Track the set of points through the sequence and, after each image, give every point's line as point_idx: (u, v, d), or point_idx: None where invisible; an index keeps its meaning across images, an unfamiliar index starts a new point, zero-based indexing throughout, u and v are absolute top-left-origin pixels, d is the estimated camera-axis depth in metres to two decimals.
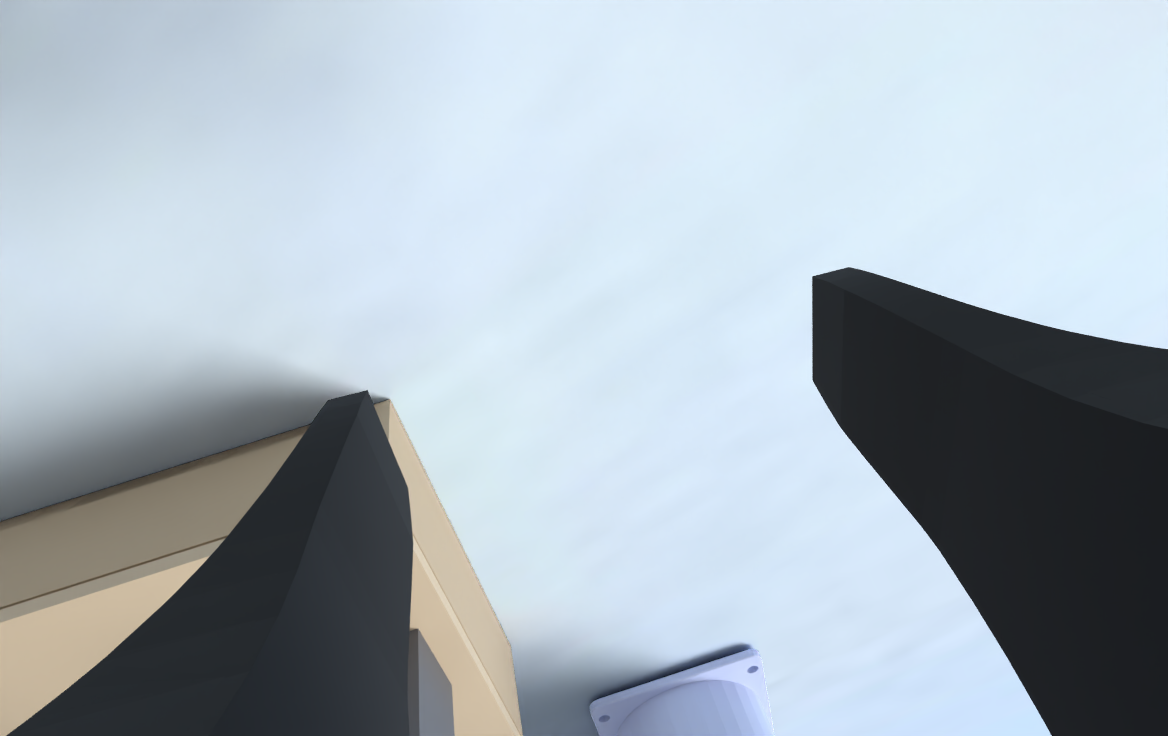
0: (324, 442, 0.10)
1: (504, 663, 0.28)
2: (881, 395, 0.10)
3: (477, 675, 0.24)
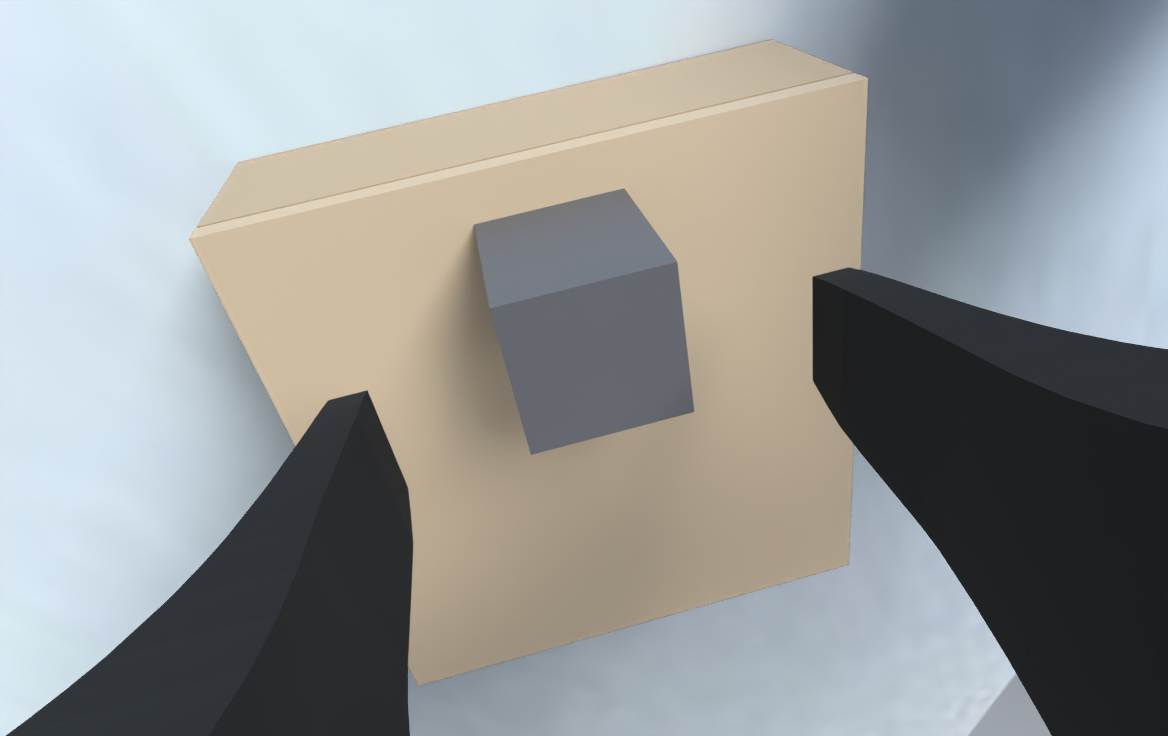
0: (324, 442, 0.10)
1: (740, 68, 0.16)
2: (881, 395, 0.10)
3: (614, 145, 0.14)
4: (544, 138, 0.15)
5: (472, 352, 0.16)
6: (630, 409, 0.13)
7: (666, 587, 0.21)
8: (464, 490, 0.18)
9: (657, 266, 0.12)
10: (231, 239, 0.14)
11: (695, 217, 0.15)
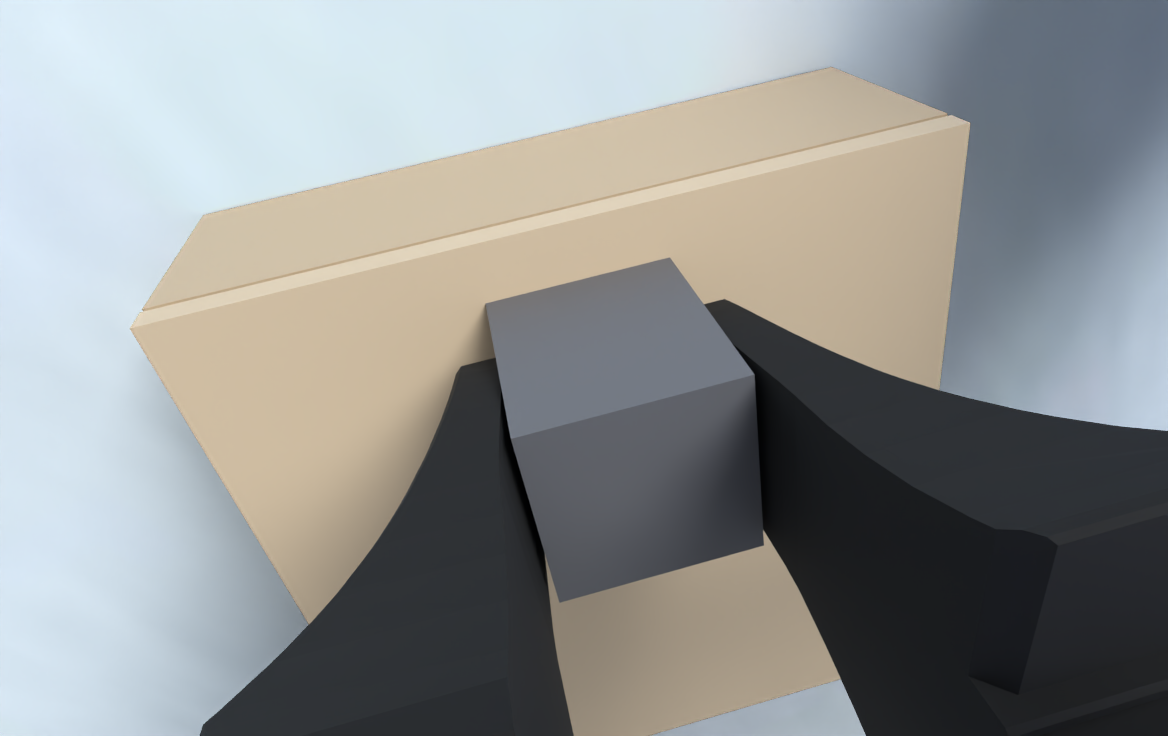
0: (478, 402, 0.10)
1: (801, 104, 0.14)
2: None
3: (659, 207, 0.11)
4: (571, 195, 0.12)
5: None
6: (685, 546, 0.10)
7: (701, 690, 0.18)
8: None
9: (728, 380, 0.09)
10: (183, 327, 0.11)
11: (754, 289, 0.12)
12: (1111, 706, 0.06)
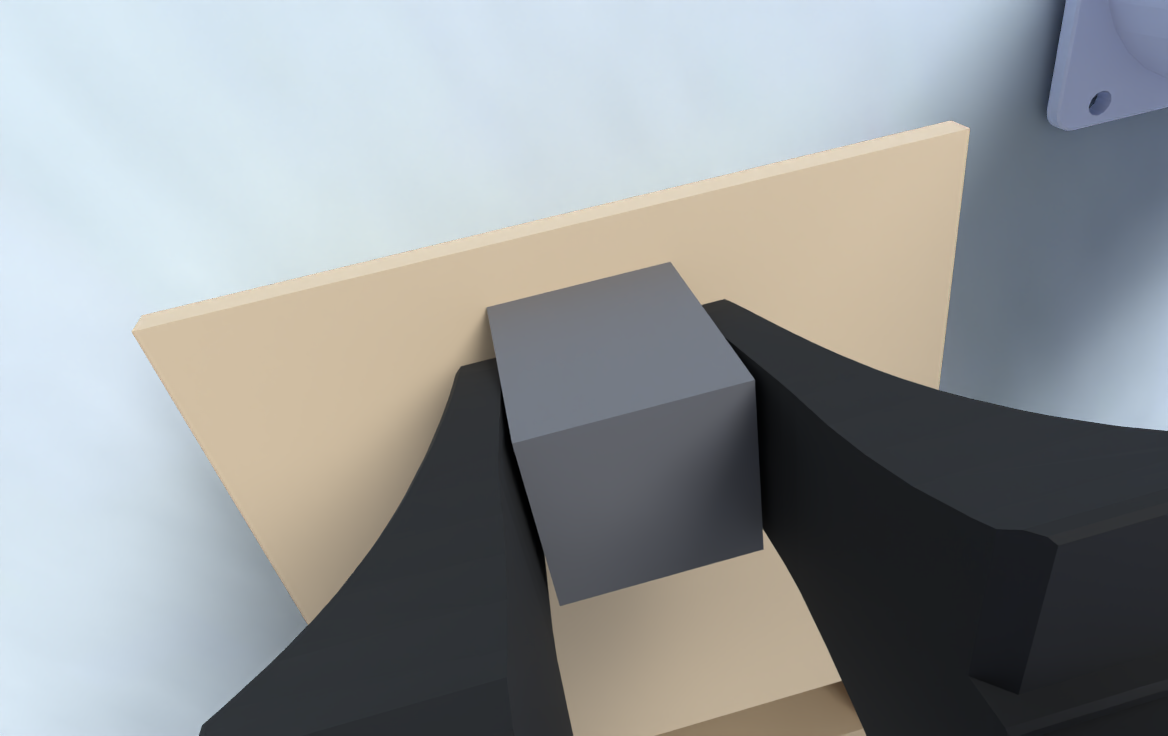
0: (477, 402, 0.10)
1: None
2: None
3: (660, 211, 0.11)
4: None
5: None
6: (685, 550, 0.10)
7: (700, 692, 0.18)
8: None
9: (728, 385, 0.09)
10: (185, 331, 0.11)
11: (754, 293, 0.12)
12: (1109, 706, 0.06)
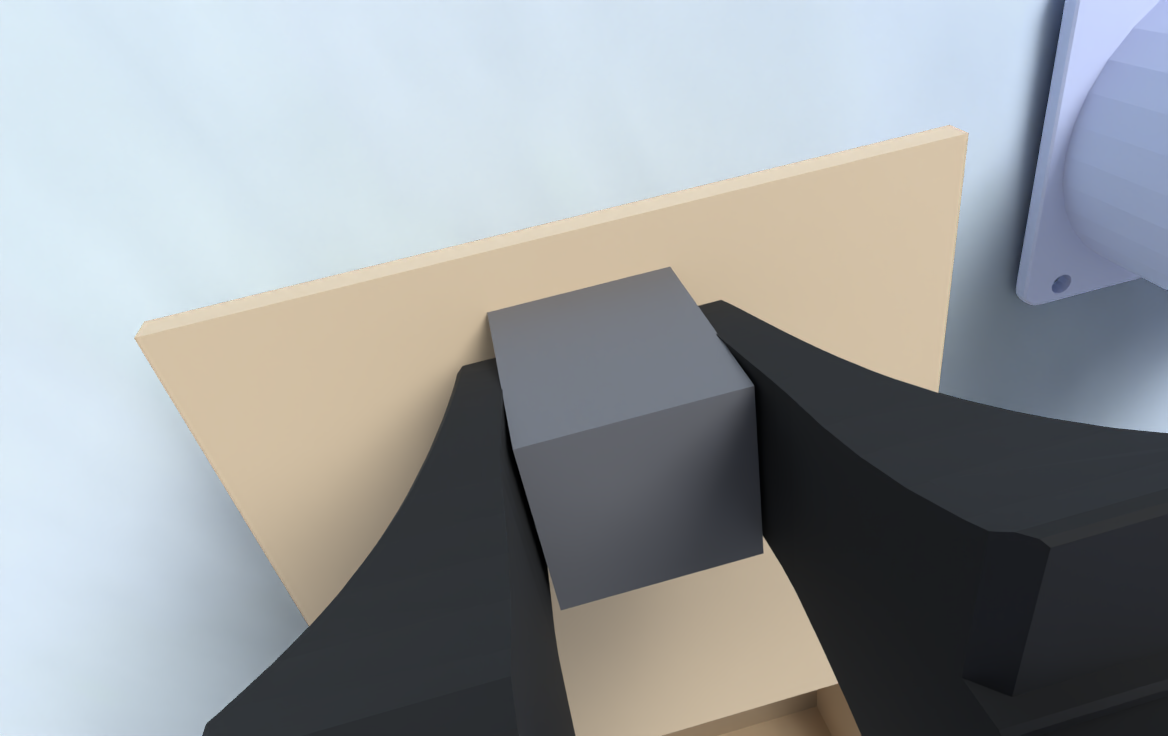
0: (479, 402, 0.10)
1: None
2: None
3: (660, 217, 0.11)
4: None
5: None
6: (685, 554, 0.10)
7: (701, 694, 0.18)
8: None
9: (727, 391, 0.09)
10: (187, 337, 0.11)
11: (753, 297, 0.13)
12: (1105, 708, 0.06)
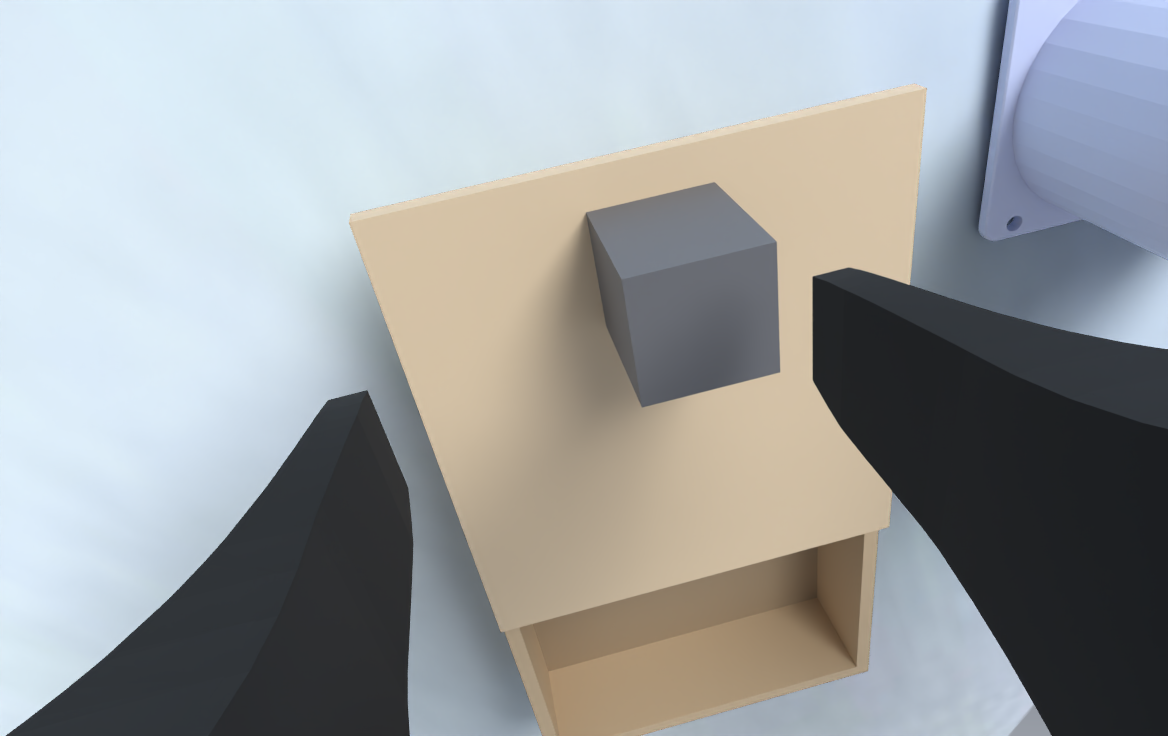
0: (324, 442, 0.10)
1: None
2: (881, 396, 0.10)
3: (709, 144, 0.16)
4: None
5: (575, 325, 0.18)
6: (727, 369, 0.15)
7: (725, 544, 0.23)
8: (557, 450, 0.20)
9: (759, 245, 0.14)
10: (383, 223, 0.16)
11: (773, 208, 0.17)
12: None
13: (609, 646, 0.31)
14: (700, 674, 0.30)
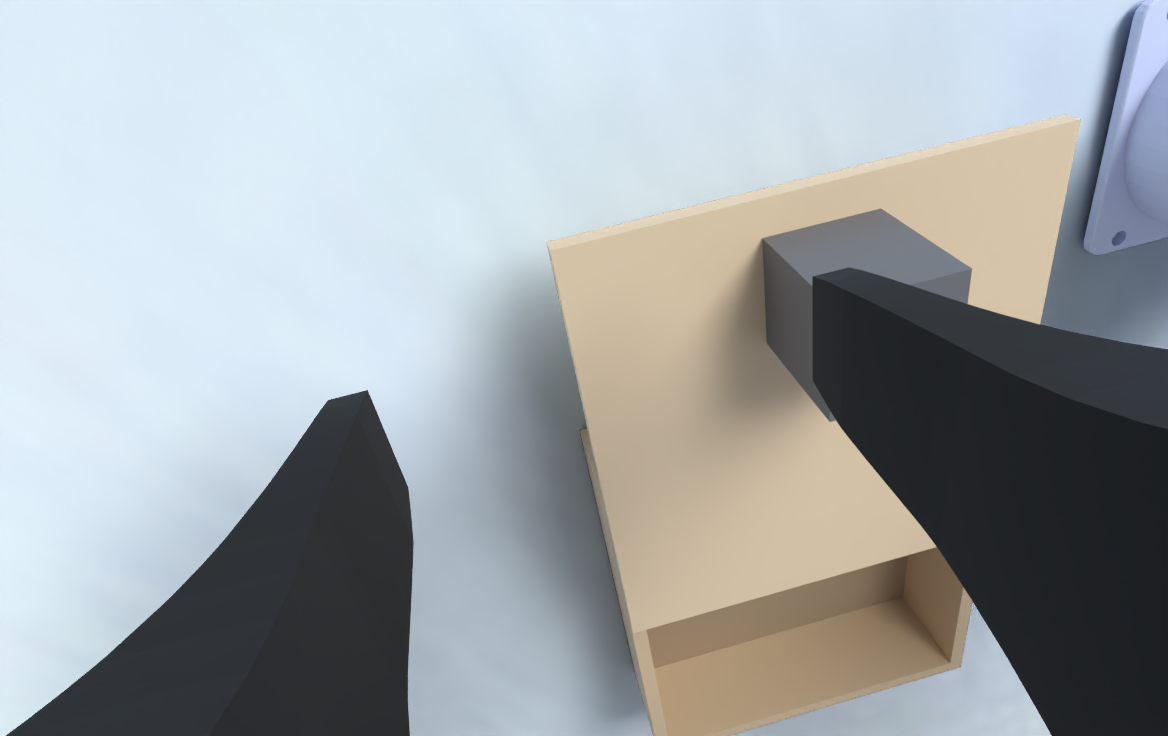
0: (324, 442, 0.10)
1: None
2: (882, 395, 0.10)
3: (880, 174, 0.17)
4: None
5: (738, 342, 0.19)
6: None
7: (848, 547, 0.24)
8: (707, 459, 0.21)
9: (955, 272, 0.15)
10: (580, 250, 0.17)
11: (930, 231, 0.19)
12: None
13: (705, 645, 0.32)
14: (797, 672, 0.31)
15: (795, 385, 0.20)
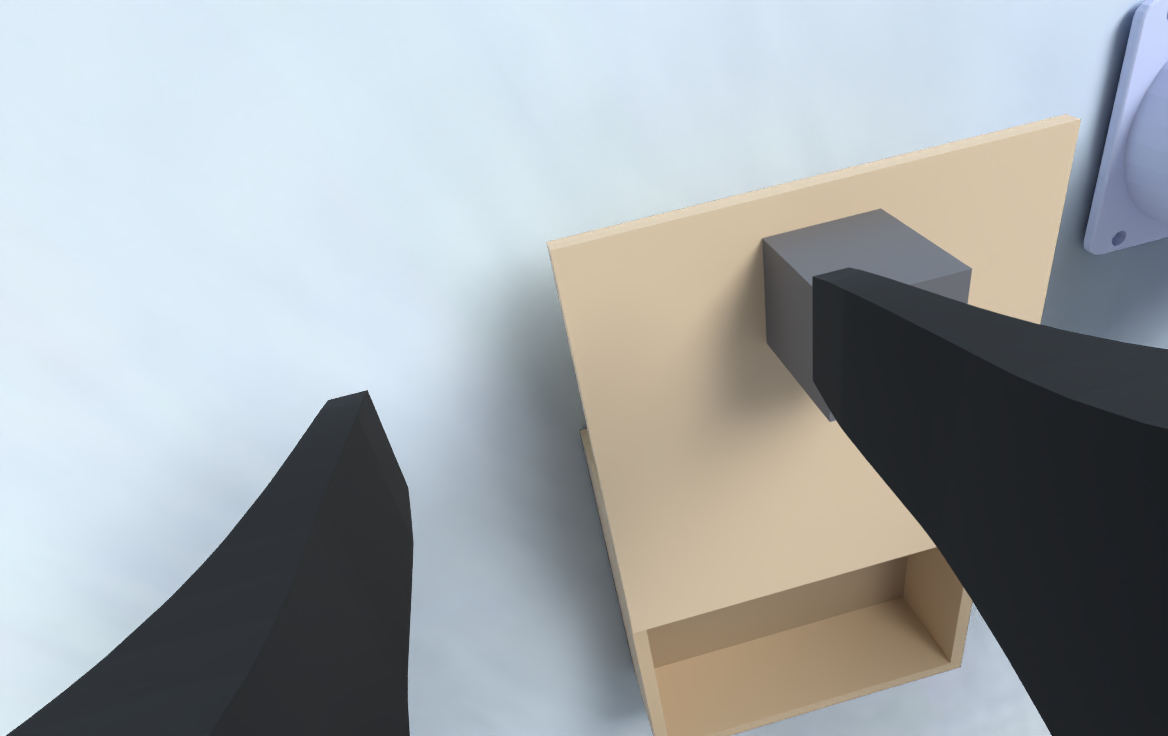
0: (324, 442, 0.10)
1: None
2: (882, 395, 0.10)
3: (880, 174, 0.17)
4: None
5: (738, 342, 0.19)
6: None
7: (848, 547, 0.24)
8: (707, 459, 0.21)
9: (955, 272, 0.15)
10: (580, 250, 0.17)
11: (930, 231, 0.19)
12: None
13: (705, 645, 0.32)
14: (797, 672, 0.31)
15: (795, 385, 0.20)
